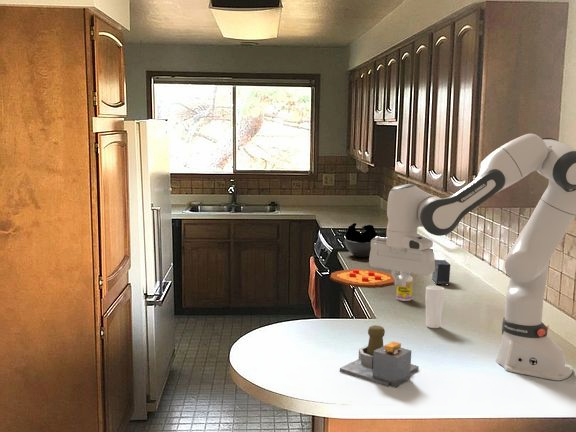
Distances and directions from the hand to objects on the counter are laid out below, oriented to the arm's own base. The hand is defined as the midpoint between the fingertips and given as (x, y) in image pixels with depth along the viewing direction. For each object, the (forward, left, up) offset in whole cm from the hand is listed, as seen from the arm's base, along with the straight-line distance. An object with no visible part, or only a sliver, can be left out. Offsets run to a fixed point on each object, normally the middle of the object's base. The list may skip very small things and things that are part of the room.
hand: (400, 285), depth 186 cm
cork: (+10, -3, -27) cm, 28 cm away
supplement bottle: (+40, -76, -28) cm, 91 cm away
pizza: (+74, -95, -28) cm, 124 cm away
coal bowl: (+104, -139, -28) cm, 176 cm away
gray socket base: (+5, +1, -28) cm, 28 cm away
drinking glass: (+13, -50, -28) cm, 59 cm away
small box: (+42, -115, -28) cm, 126 cm away
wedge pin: (-1, +5, -26) cm, 26 cm away
